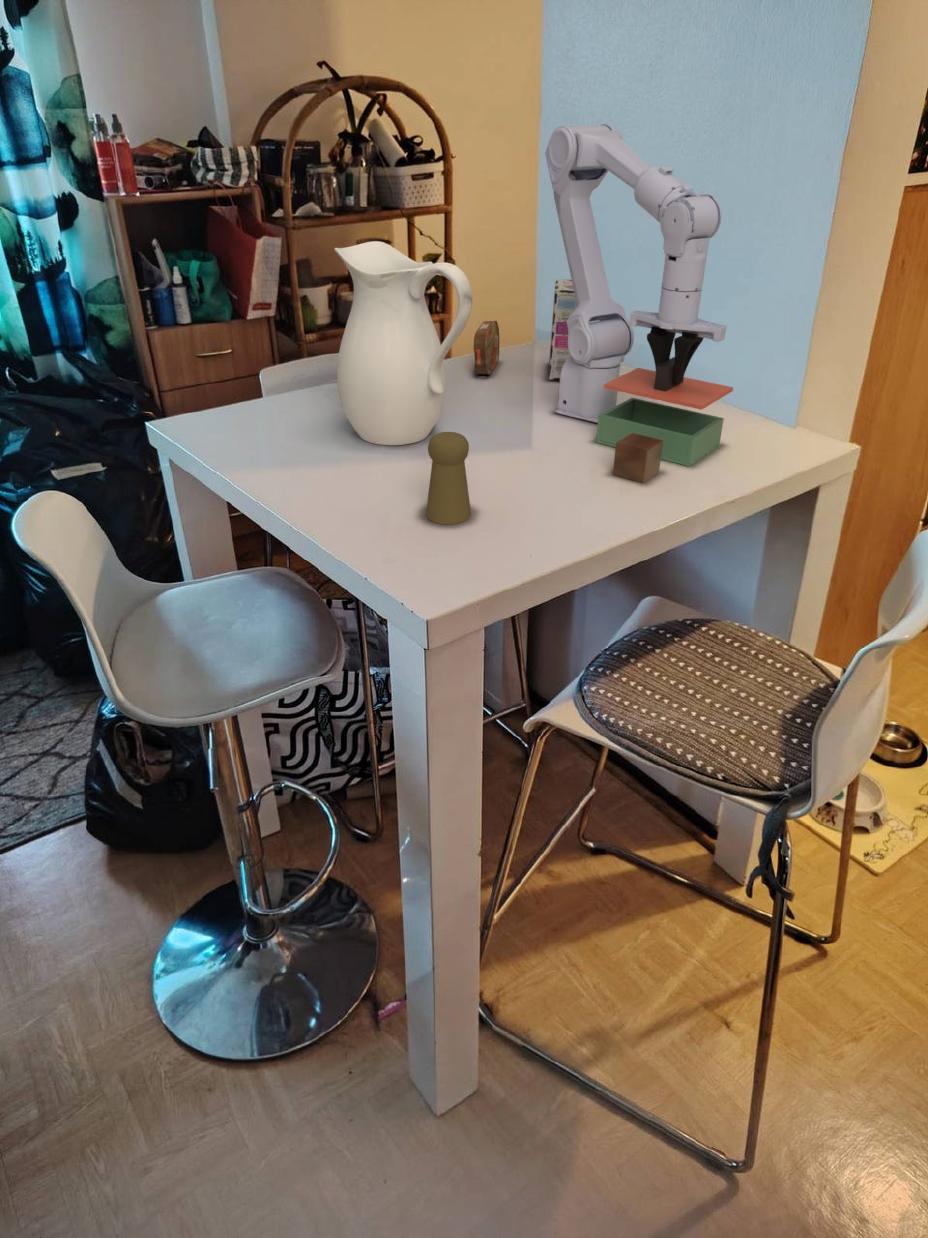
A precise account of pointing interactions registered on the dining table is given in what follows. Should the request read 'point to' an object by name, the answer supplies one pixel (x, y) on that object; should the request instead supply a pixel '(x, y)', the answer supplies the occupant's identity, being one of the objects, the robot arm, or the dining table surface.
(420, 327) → the pitcher
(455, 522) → the olive pawn figure
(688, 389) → the lunchbox lid
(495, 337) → the tin
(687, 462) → the box
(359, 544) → the dining table surface
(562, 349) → the candy bar box
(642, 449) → the walnut block
